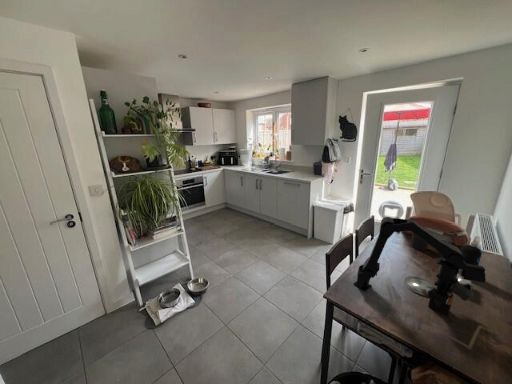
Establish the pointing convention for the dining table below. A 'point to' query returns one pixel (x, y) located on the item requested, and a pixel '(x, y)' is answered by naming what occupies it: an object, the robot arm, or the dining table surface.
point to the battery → (444, 307)
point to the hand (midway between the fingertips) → (439, 304)
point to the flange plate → (418, 285)
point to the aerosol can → (471, 254)
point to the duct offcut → (462, 280)
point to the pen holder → (418, 243)
